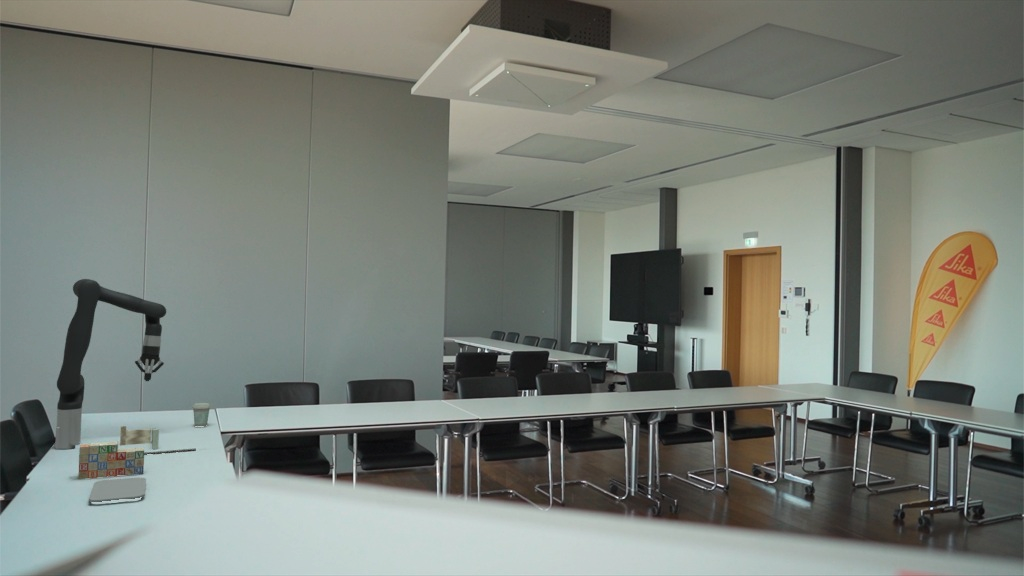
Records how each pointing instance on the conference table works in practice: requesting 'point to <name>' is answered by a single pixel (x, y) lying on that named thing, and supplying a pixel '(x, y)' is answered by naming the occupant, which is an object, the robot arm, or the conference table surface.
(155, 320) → the robot arm
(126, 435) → the fixed fence panel
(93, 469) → the stack of blocks
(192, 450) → the board
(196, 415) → the coffee cup
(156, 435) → the hinged fence panel
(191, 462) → the conference table surface
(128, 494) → the tablet
